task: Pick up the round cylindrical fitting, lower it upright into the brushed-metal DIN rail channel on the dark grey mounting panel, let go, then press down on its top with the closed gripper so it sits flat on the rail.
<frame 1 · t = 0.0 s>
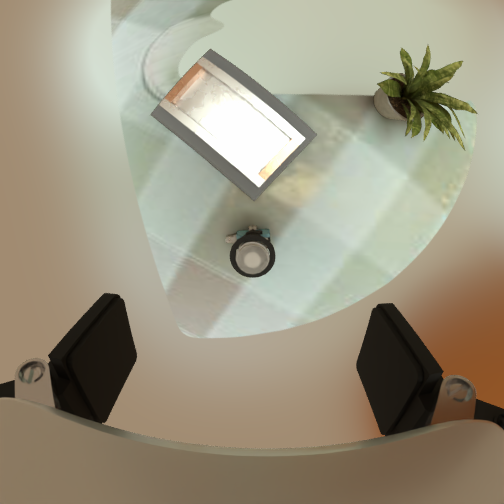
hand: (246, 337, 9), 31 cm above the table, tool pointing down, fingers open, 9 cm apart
house plant: (381, 106, 33), on the table
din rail: (230, 118, 33), on the mounting panel, point 2 cm above the table
round cylindrical fitting: (249, 235, 41), on the table
mounting panel: (232, 120, 35), on the table
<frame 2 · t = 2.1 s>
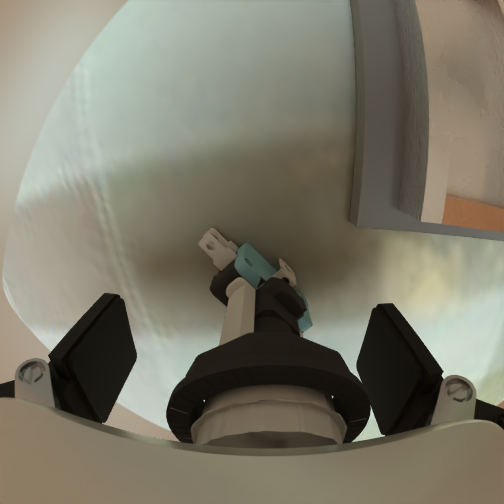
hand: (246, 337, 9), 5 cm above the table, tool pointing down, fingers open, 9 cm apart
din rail: (475, 60, 7), on the mounting panel, point 2 cm above the table
round cylindrical fitting: (256, 271, 14), on the table
mounting panel: (452, 67, 9), on the table
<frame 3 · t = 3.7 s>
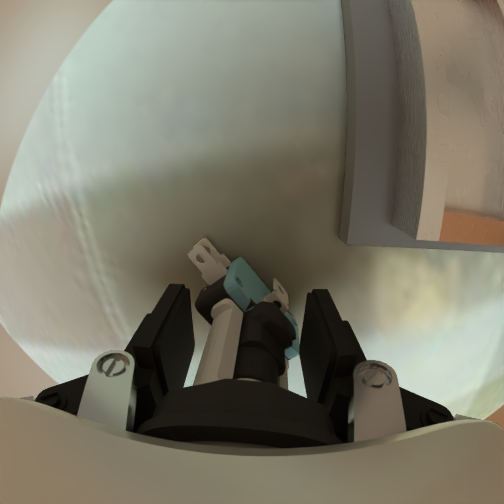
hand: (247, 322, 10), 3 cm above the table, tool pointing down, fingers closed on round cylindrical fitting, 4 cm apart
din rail: (474, 63, 7), on the mounting panel, point 2 cm above the table
round cylindrical fitting: (248, 288, 13), on the table, touching gripper
mounting panel: (449, 70, 9), on the table
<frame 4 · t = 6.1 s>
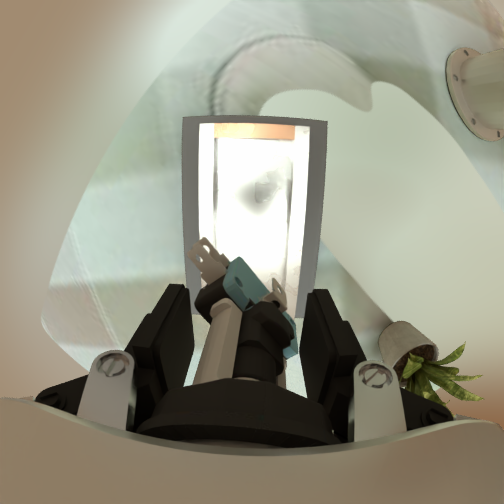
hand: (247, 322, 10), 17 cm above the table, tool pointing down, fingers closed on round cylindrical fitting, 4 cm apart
house plant: (387, 334, 31), on the table
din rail: (251, 227, 24), on the mounting panel, point 2 cm above the table
round cylindrical fitting: (246, 287, 13), point 14 cm above the table, touching gripper
mounting panel: (252, 221, 26), on the table
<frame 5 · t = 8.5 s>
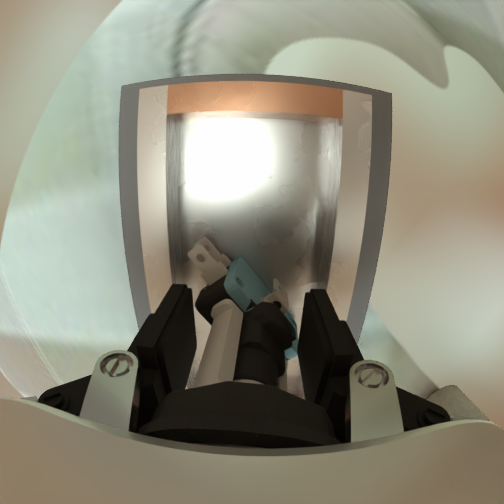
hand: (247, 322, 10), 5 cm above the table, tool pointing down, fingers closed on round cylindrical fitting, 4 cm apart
house plant: (428, 401, 19), on the table
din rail: (249, 295, 12), on the mounting panel, point 2 cm above the table
round cylindrical fitting: (248, 287, 13), point 1 cm above the table, touching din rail, gripper
mounting panel: (250, 274, 15), on the table
when the fingers open (5 cm above the table, at t = 8.7 s): round cylindrical fitting stays where it is, resting on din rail.
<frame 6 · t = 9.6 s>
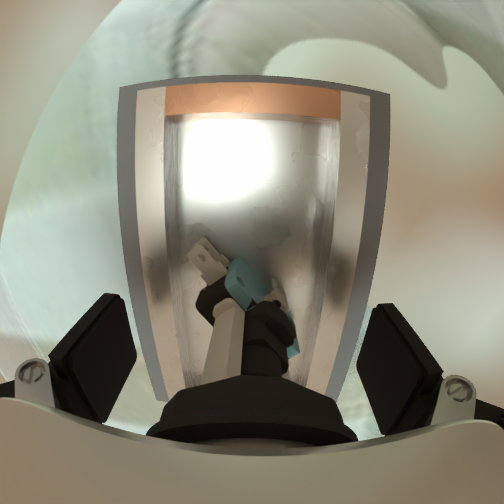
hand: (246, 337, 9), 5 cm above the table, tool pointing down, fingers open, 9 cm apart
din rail: (247, 296, 12), on the mounting panel, point 2 cm above the table
round cylindrical fitting: (246, 288, 13), point 1 cm above the table, touching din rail
mounting panel: (248, 275, 15), on the table
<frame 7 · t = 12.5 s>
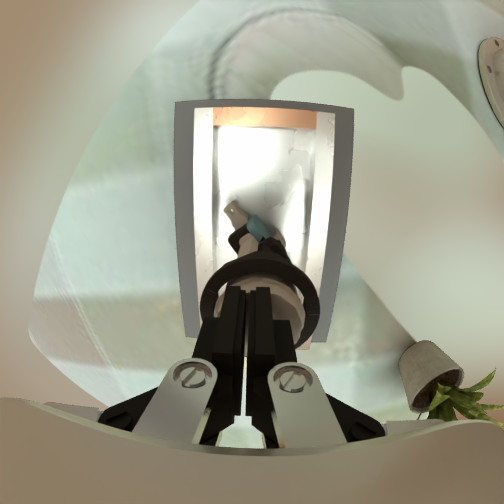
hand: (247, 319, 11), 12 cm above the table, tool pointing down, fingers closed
house plant: (408, 355, 26), on the table
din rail: (260, 239, 19), on the mounting panel, point 2 cm above the table
round cylindrical fitting: (259, 236, 20), point 1 cm above the table, touching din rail, gripper
mounting panel: (260, 230, 21), on the table
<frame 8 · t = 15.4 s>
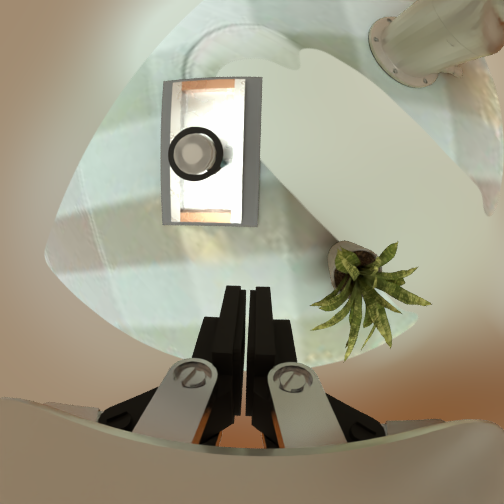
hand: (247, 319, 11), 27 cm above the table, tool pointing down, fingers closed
house plant: (335, 254, 39), on the table
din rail: (207, 149, 32), on the mounting panel, point 2 cm above the table
round cylindrical fitting: (207, 150, 32), point 1 cm above the table, touching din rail
mounting panel: (210, 150, 34), on the table
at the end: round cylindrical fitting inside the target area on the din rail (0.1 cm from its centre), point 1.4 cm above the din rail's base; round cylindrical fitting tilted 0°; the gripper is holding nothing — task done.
